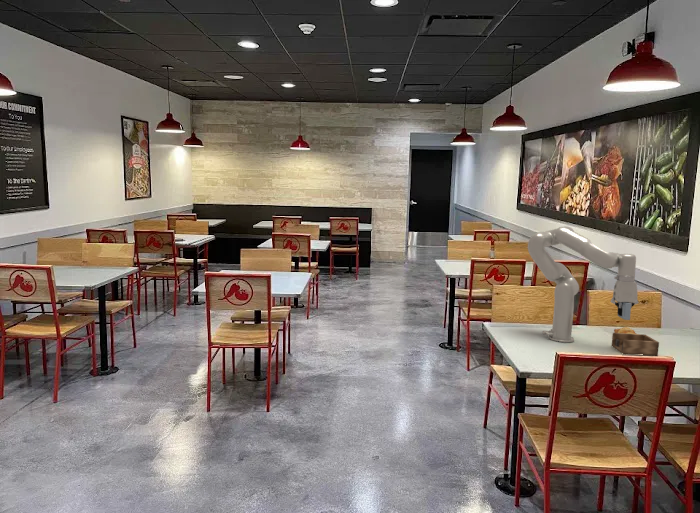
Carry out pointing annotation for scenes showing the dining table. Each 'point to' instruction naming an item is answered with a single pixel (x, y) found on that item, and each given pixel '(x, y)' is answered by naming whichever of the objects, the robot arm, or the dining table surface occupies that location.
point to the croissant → (624, 330)
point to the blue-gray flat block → (626, 311)
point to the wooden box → (635, 344)
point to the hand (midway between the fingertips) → (623, 315)
